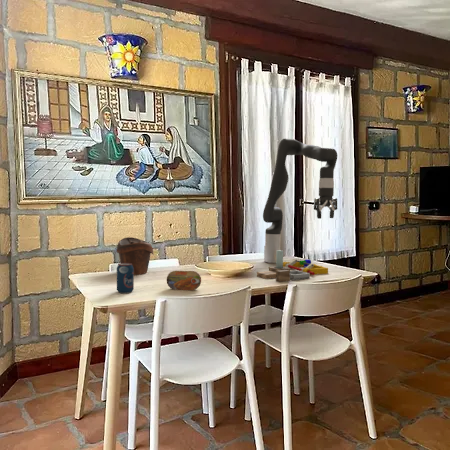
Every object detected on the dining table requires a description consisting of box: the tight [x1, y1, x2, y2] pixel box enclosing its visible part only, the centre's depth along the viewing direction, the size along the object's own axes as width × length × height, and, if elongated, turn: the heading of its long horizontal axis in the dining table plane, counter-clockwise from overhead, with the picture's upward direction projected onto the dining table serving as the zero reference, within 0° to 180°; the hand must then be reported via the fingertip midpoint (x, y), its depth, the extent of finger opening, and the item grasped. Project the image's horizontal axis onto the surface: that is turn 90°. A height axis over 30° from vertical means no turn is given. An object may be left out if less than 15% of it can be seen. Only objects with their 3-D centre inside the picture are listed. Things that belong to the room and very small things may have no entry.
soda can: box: [116, 262, 135, 294], centre depth 191 cm, size 7×7×12 cm
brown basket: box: [116, 236, 154, 276], centre depth 236 cm, size 18×20×18 cm
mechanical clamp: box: [283, 258, 329, 276], centre depth 249 cm, size 18×6×30 cm
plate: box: [256, 270, 276, 280], centre depth 229 cm, size 8×8×2 cm
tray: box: [290, 269, 311, 281], centre depth 228 cm, size 10×10×2 cm
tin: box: [166, 270, 202, 292], centre depth 198 cm, size 15×3×8 cm, turn 81°
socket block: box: [268, 266, 291, 272], centre depth 239 cm, size 8×8×3 cm
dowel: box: [275, 249, 284, 269], centre depth 239 cm, size 4×4×12 cm
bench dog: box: [275, 270, 291, 283], centre depth 219 cm, size 3×6×5 cm, turn 121°
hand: (325, 218), depth 237 cm, fingers open, 8 cm apart
